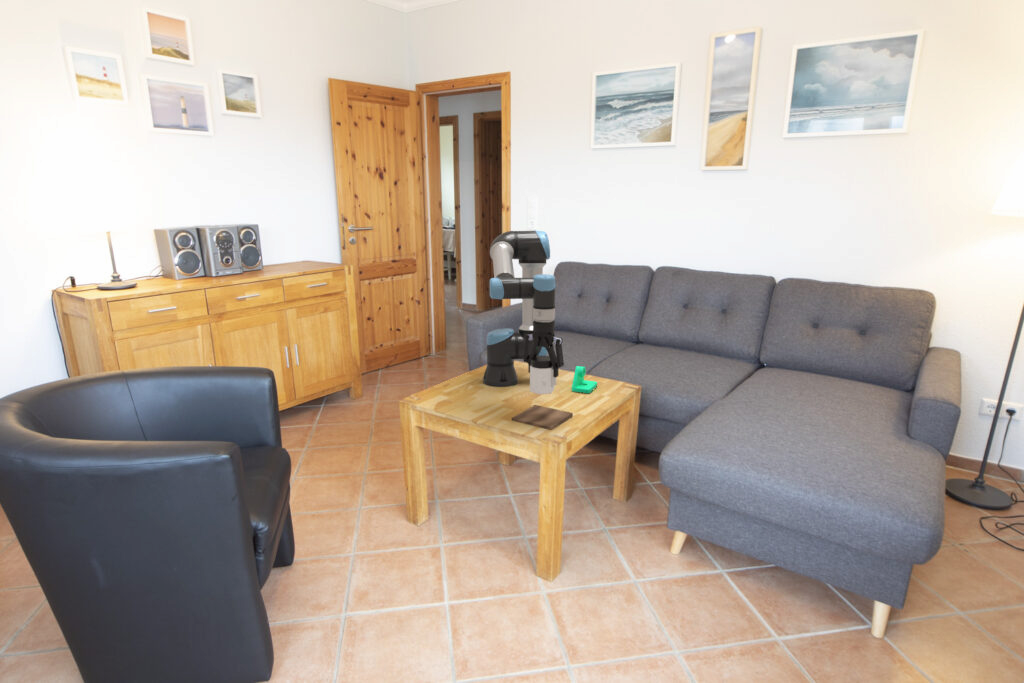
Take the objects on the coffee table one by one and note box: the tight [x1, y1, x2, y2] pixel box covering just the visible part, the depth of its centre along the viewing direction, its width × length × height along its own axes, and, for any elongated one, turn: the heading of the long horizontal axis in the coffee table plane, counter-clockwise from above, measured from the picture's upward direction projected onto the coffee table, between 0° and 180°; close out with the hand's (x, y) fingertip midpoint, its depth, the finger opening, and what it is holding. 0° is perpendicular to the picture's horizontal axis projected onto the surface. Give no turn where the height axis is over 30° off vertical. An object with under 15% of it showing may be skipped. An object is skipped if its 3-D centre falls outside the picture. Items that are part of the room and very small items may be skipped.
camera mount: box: [571, 365, 598, 394], centre depth 234 cm, size 12×8×10 cm, turn 155°
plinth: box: [511, 404, 574, 431], centre depth 200 cm, size 16×16×2 cm
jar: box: [529, 355, 555, 395], centre depth 196 cm, size 9×8×12 cm
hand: (543, 383), depth 197 cm, fingers closed on jar, 7 cm apart
